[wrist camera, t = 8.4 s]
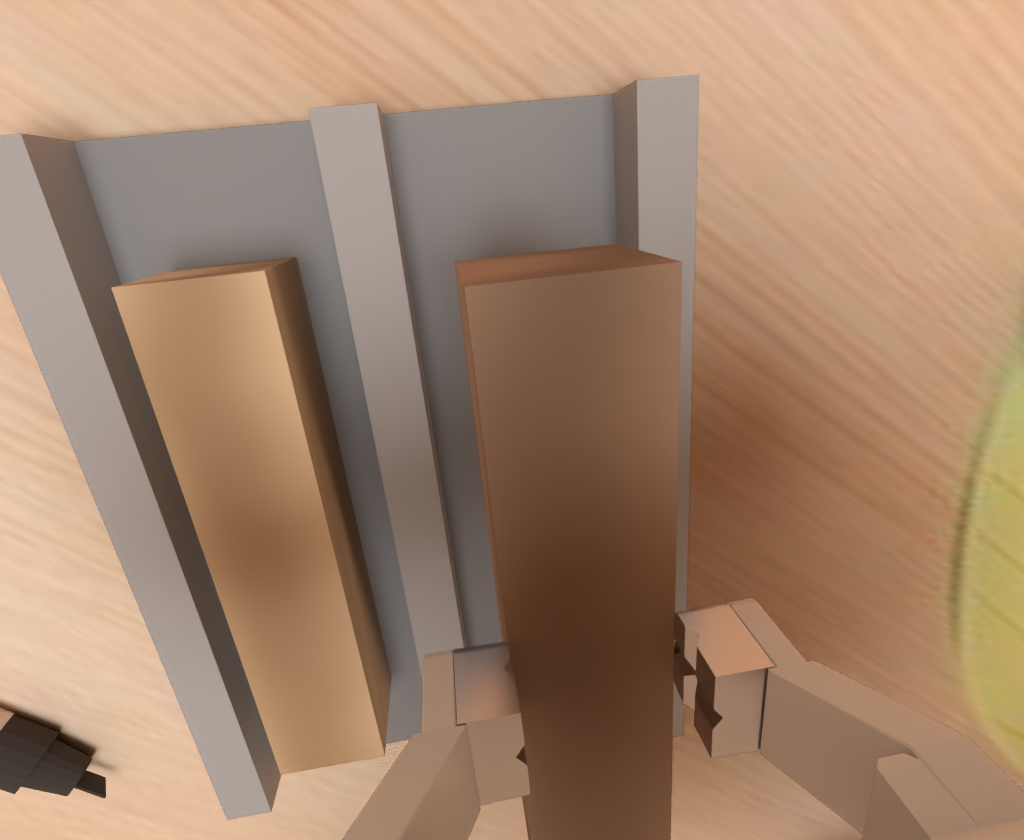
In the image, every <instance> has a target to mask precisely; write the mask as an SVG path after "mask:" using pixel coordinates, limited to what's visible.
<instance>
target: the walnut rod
mask: <svg viewBox="0 0 1024 840" xmlns="http://www.w3.org/2000/svg"><path fill="white" fill-rule="evenodd" d="M454 263H455V271H456V279H457V287H458V295H459V303H460V310H461V318H462V326H463V334H464V342H465V350H466V358H467V366H468V374H469V382H470V390H471V398H472V406H473V414H474V422H475V430H476V437H477V445H478V453H479V461H480V469H481V477H482V485H483V493H484V501H485V509H486V517H487V525H488V533H489V541H490V549H491V557H492V564H493V572H494V580H495V588H496V596H497V604H498V612H499V620H500V628H501V636H502V642H505V641H508V643H509V648H510V654H511V660H512V668H513V675H514V678H515V682H516V688H517V694H518V700H519V706H520V712H521V720H522V727H523V735H524V742H525V745H524V748H525V755H526V761H527V767H528V776H529V786H530V794H529V795H525V796H522V800H523V806H524V812H525V819H526V825H527V831H528V838H529V840H670V839H671V789H672V740H673V691H674V680H673V656H674V641H675V638H674V613H675V592H676V543H677V493H678V444H679V395H680V346H681V296H682V262H681V261H677V260H674V259H670V258H667V257H663V256H659V255H656V254H652V253H648V252H645V251H641V250H637V249H634V248H630V247H626V246H623V245H619V244H608V245H599V246H590V247H581V248H572V249H563V250H554V251H545V252H536V253H527V254H518V255H509V256H500V257H491V258H482V259H473V260H464V261H455V262H454Z"/></svg>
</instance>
